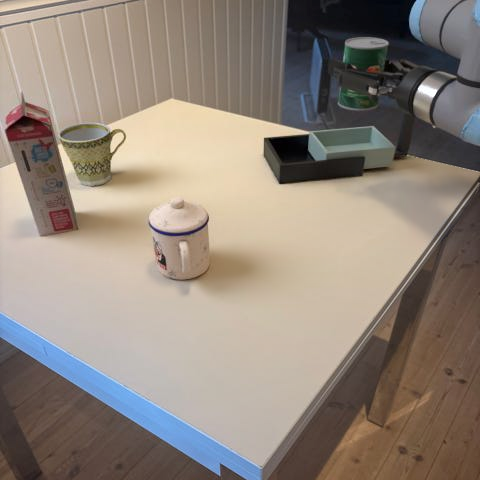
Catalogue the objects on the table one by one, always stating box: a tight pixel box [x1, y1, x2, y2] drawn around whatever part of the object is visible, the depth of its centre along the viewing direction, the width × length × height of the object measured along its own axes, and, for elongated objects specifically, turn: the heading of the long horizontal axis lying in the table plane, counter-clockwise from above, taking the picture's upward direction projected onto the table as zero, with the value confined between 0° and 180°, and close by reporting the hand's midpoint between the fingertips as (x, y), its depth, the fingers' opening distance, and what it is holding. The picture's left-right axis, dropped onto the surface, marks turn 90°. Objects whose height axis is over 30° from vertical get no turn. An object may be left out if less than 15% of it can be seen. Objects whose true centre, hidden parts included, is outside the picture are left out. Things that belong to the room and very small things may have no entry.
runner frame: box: [263, 133, 365, 185], centre depth 105 cm, size 18×15×4 cm
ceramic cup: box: [57, 122, 127, 187], centre depth 100 cm, size 13×10×10 cm
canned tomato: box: [337, 36, 390, 112], centre depth 93 cm, size 8×8×11 cm
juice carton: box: [4, 91, 79, 237], centre depth 82 cm, size 7×7×22 cm
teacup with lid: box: [148, 196, 211, 281], centre depth 74 cm, size 12×9×12 cm
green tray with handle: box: [308, 112, 417, 170], centre depth 103 cm, size 21×12×15 cm, turn 101°
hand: (348, 62), depth 96 cm, fingers closed on canned tomato, 8 cm apart
